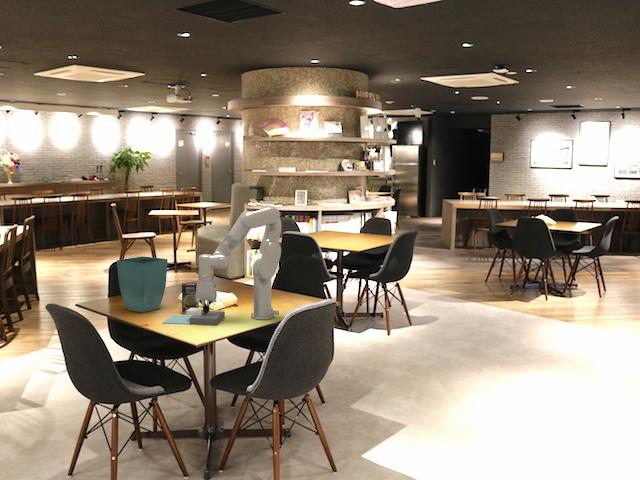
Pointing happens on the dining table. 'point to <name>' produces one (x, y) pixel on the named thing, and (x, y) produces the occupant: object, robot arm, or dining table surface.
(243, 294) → the dining table surface
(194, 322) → the board
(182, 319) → the mat
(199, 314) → the tile
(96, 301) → the dining table surface
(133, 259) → the flower pot
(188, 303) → the coffee box
